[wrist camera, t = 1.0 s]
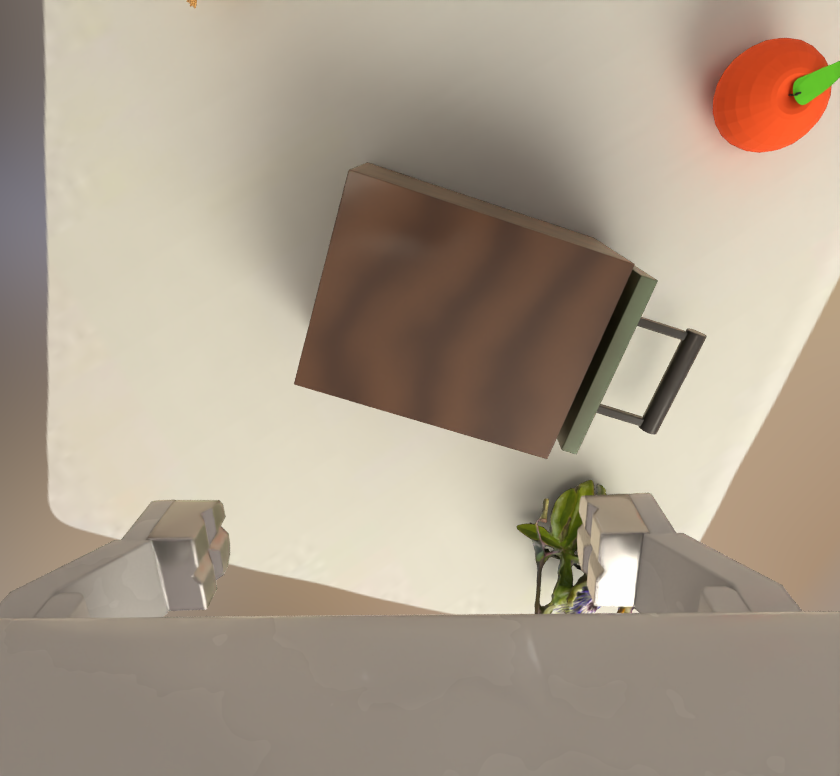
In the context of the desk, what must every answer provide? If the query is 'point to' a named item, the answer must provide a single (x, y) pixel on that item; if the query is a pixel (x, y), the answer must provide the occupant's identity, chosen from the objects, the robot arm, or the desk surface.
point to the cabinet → (457, 311)
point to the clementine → (773, 94)
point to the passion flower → (563, 553)
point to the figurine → (192, 3)
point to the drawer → (610, 357)
